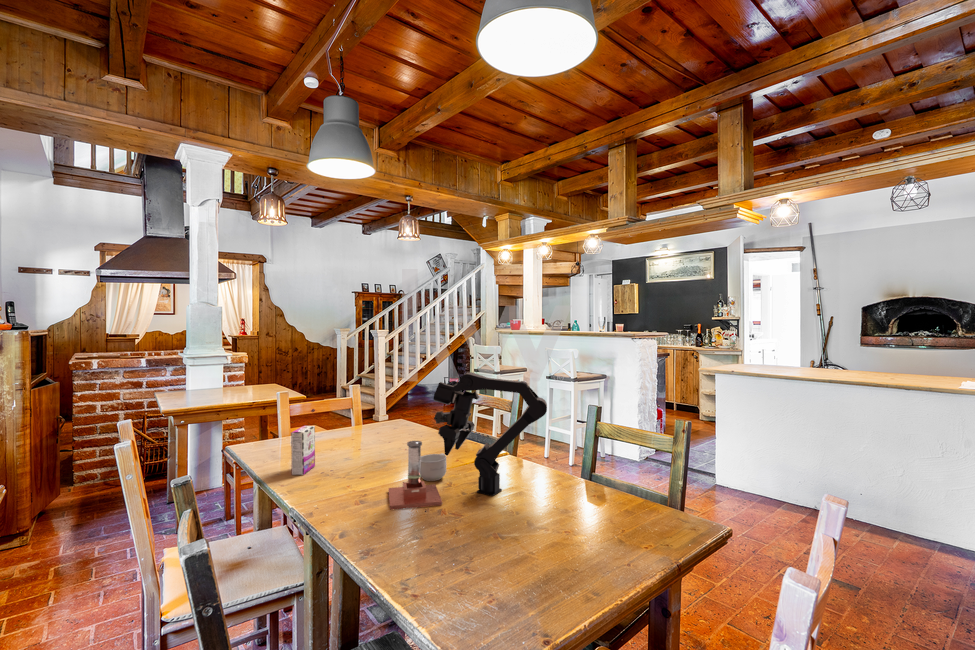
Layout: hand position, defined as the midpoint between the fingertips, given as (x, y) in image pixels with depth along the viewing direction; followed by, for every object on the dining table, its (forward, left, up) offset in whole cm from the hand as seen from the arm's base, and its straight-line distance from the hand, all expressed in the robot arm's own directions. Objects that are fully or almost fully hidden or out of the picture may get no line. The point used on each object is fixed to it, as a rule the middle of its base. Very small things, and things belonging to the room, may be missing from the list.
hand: (451, 452), depth 156 cm
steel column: (+6, +13, -8) cm, 16 cm away
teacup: (+13, -7, -13) cm, 20 cm away
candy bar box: (+61, +14, -13) cm, 64 cm away
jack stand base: (+6, +13, -13) cm, 19 cm away
